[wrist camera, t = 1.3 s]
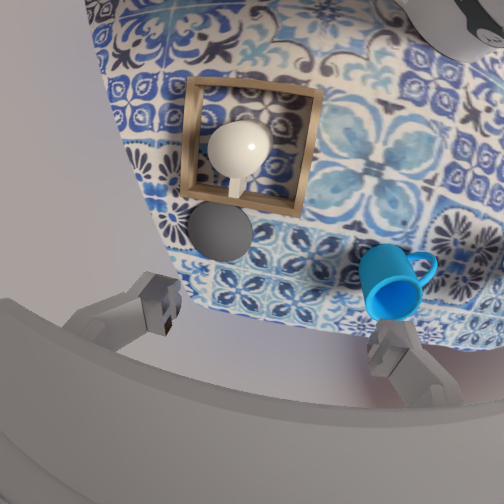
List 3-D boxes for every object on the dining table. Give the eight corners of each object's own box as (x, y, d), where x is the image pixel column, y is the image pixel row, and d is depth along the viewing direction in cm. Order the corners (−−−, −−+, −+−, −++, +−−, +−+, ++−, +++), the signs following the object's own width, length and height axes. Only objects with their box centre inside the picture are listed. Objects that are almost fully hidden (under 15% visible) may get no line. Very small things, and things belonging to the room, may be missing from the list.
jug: (230, 116, 33) (210, 119, 26) (276, 122, 32) (268, 126, 25) (224, 178, 37) (204, 197, 30) (267, 185, 37) (256, 207, 30)
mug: (369, 295, 42) (377, 331, 35) (349, 258, 40) (356, 292, 33) (433, 264, 37) (451, 296, 30) (419, 222, 34) (439, 251, 27)
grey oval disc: (189, 194, 39) (188, 196, 39) (256, 206, 38) (256, 207, 38) (188, 252, 45) (187, 254, 44) (248, 265, 44) (247, 267, 43)
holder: (198, 78, 30) (187, 76, 27) (322, 92, 29) (324, 90, 26) (190, 188, 39) (180, 196, 36) (300, 208, 37) (300, 218, 34)
